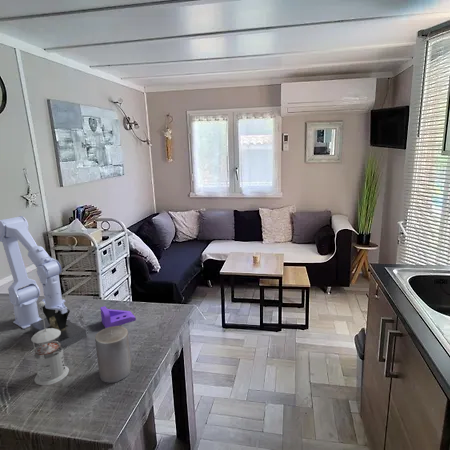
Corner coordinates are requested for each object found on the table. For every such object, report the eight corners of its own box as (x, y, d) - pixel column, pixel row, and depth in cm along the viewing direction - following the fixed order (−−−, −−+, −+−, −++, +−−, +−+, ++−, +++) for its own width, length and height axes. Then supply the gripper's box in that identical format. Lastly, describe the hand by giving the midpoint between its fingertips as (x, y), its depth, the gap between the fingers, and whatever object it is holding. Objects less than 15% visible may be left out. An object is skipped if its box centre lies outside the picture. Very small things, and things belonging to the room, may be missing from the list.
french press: (45, 389, 99) (33, 312, 94) (24, 376, 105) (12, 303, 100) (75, 371, 107) (65, 299, 102) (54, 359, 113) (44, 291, 108)
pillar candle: (106, 362, 111) (101, 322, 108) (135, 362, 111) (131, 322, 107) (94, 383, 102) (88, 339, 98) (126, 383, 101) (121, 339, 98)
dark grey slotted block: (31, 331, 132) (30, 324, 131) (56, 320, 140) (55, 314, 139) (61, 349, 119) (60, 342, 118) (86, 336, 127) (85, 329, 126)
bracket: (106, 329, 132) (104, 314, 131) (102, 322, 138) (100, 307, 136) (135, 321, 139) (134, 305, 137) (130, 314, 144) (129, 299, 143)
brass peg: (51, 334, 129) (49, 317, 128) (61, 329, 132) (59, 313, 131) (56, 337, 127) (54, 320, 125) (67, 332, 130) (64, 316, 129)
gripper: (73, 293, 125) (77, 326, 128) (52, 284, 133) (57, 316, 136) (54, 300, 119) (59, 334, 122) (34, 291, 127) (39, 323, 130)
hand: (57, 325), depth 129 cm, fingers open, 7 cm apart
